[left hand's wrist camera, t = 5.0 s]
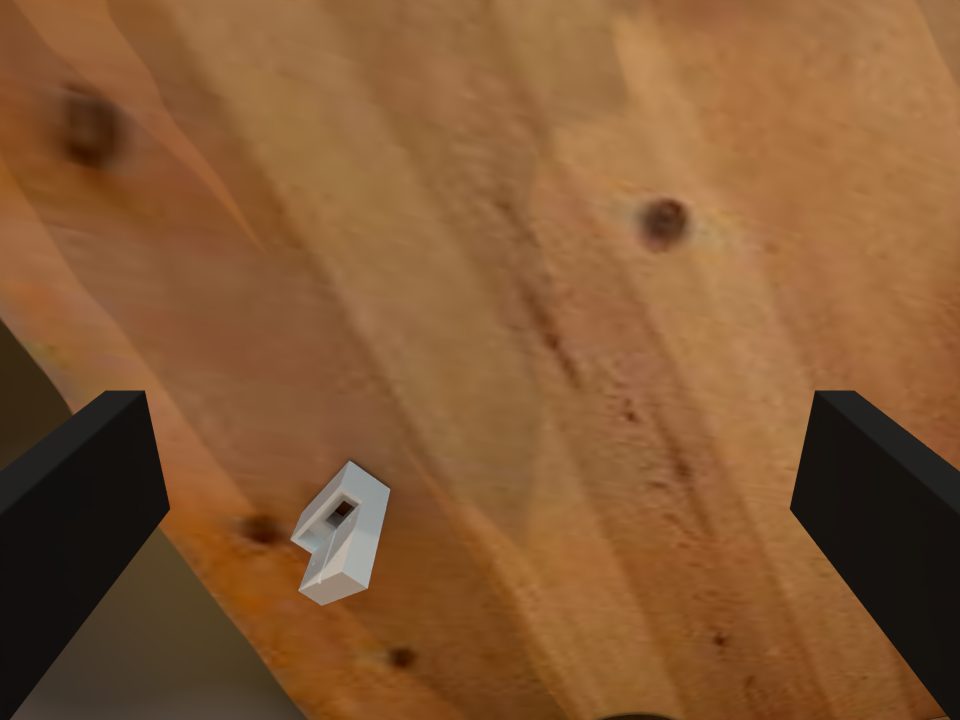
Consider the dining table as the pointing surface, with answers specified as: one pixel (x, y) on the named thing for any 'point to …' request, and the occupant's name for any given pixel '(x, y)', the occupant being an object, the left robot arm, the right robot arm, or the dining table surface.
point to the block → (941, 718)
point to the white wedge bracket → (341, 535)
